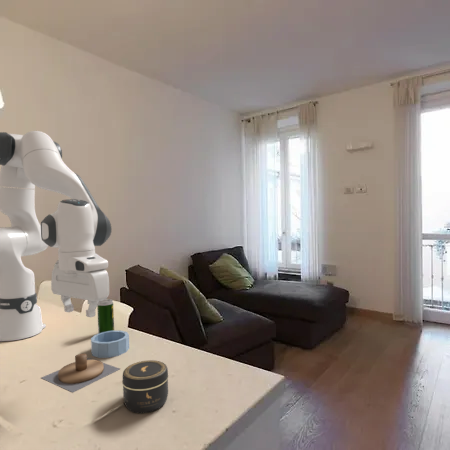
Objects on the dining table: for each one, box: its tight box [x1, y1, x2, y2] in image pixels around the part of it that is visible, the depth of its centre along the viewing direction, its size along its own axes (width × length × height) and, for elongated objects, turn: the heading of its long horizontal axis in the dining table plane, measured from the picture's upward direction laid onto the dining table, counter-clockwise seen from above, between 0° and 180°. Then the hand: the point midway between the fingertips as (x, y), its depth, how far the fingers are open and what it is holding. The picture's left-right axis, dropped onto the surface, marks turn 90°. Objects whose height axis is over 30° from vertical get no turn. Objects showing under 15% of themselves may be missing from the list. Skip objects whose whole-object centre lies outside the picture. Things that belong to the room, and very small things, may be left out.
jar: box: [122, 359, 169, 414], centre depth 76 cm, size 10×10×8 cm
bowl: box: [90, 330, 130, 359], centre depth 104 cm, size 11×11×5 cm
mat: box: [40, 357, 121, 393], centre depth 89 cm, size 14×14×1 cm
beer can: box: [96, 298, 115, 334], centre depth 121 cm, size 5×5×12 cm
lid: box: [58, 353, 104, 384], centre depth 89 cm, size 11×11×5 cm
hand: (79, 314), depth 89 cm, fingers open, 8 cm apart
